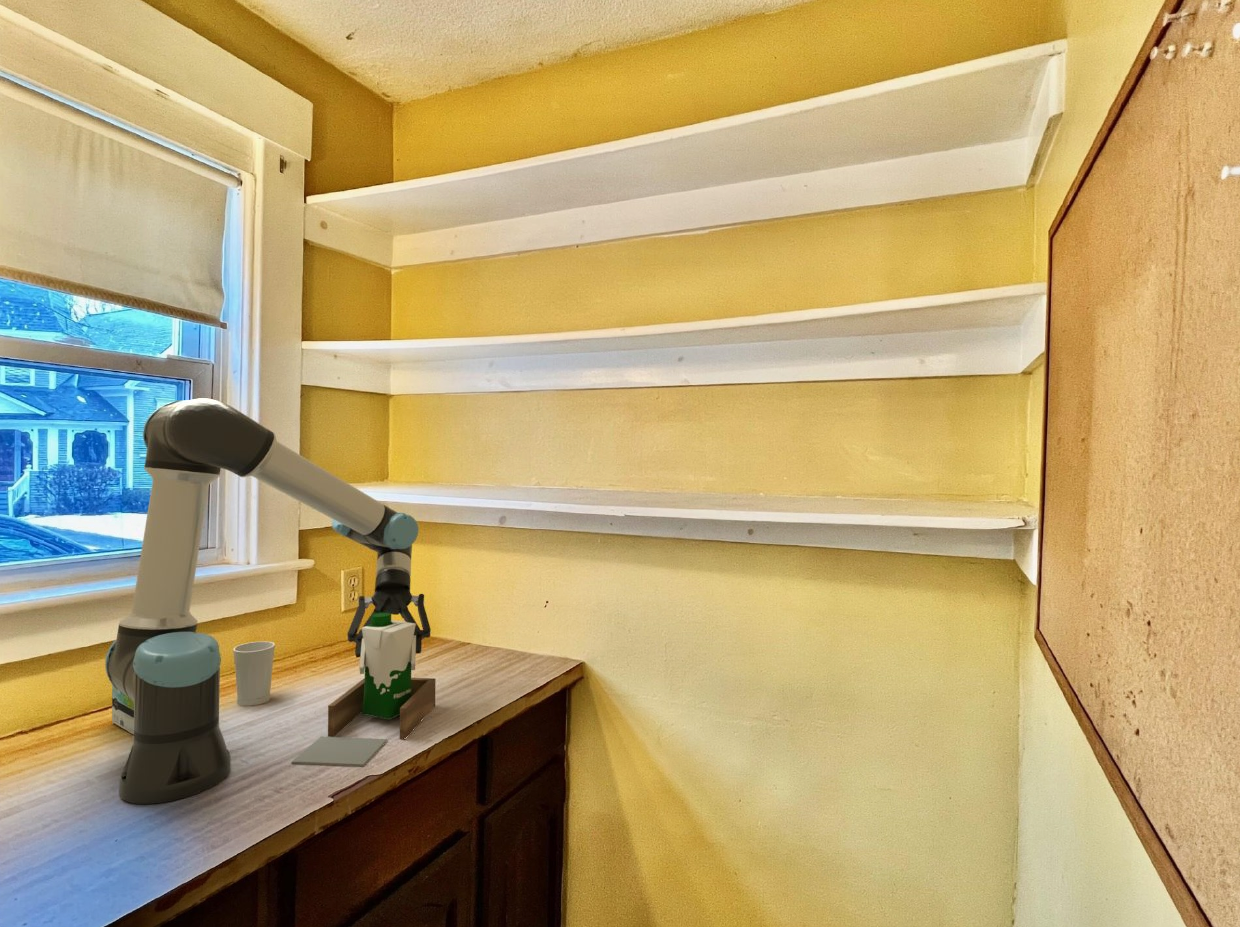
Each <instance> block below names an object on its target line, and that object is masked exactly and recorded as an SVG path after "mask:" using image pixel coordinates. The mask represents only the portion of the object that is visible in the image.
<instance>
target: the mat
mask: <svg viewBox="0 0 1240 927" xmlns="http://www.w3.org/2000/svg"><path fill="white" fill-rule="evenodd" d="M386 741H387V742H388V739H387V738H371V737H370V738H369V737H367V738H366V737H347V736H346V737H339V736H334V737H329V736H320V737H319V738H317V739H316V740H315V741H314V742H312V744H311V745H309V746H308V747H307V748H306V749H304V750H303V751H301V753H299V755H297V756H296V757H295V758H294V759H293V760H291V762H290V763H291V764H292V765H293V764H294V765H313V766H315V765H319V766H340V767H342V766H343V767H361V766H363V767H364V766H365V765H366V764H367V763H368V762H369V761H370V760H371V759H372V758H373V757H374V756H375V755H374V754H375V753H376V752H377V753H378V751H380V750H381V748H382V747H383V746H384V745H385V744H386V743H387V742H386ZM385 742H386V743H385ZM384 743H385V744H384ZM383 744H384V745H383ZM377 753H376V754H377ZM373 755H374V756H373ZM372 756H373V757H372ZM371 757H372V758H371ZM370 758H371V759H370Z"/></svg>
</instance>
